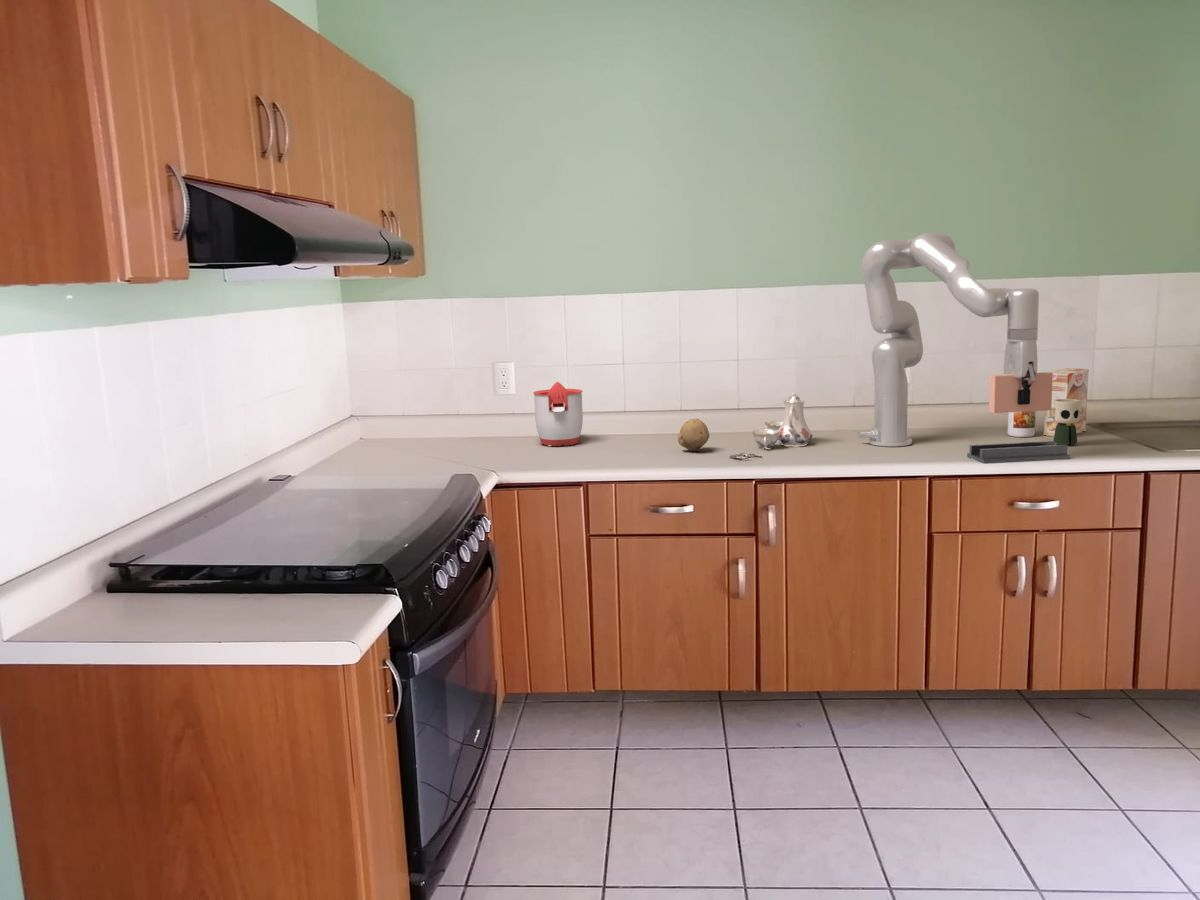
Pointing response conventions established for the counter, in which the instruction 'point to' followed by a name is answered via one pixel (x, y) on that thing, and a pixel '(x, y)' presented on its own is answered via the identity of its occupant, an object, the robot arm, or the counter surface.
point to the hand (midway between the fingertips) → (1020, 402)
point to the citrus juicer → (558, 415)
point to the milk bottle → (1021, 424)
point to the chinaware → (786, 426)
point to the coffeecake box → (1068, 395)
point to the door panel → (1007, 393)
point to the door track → (1018, 452)
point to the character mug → (1066, 419)
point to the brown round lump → (693, 435)
